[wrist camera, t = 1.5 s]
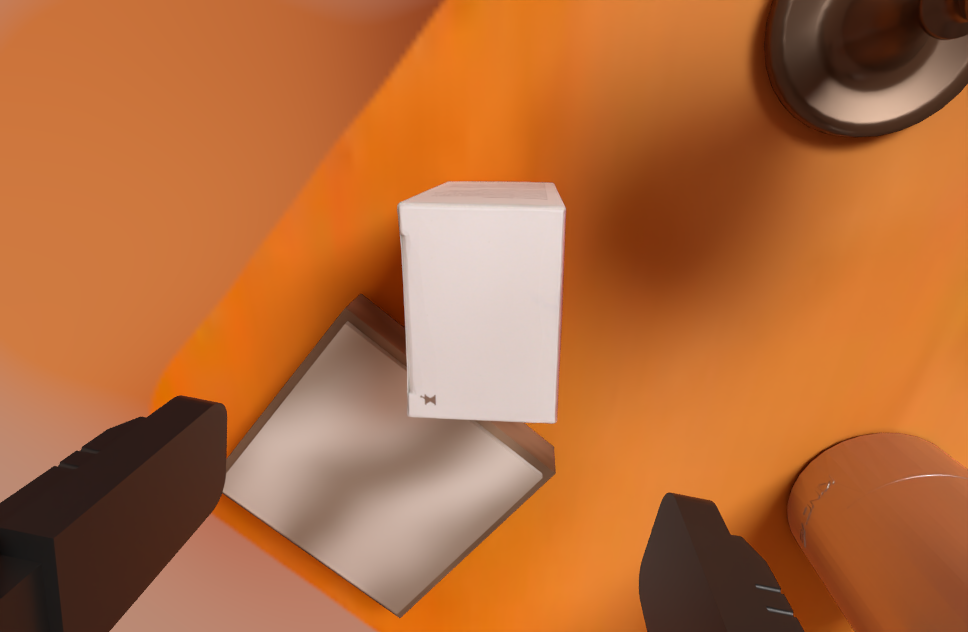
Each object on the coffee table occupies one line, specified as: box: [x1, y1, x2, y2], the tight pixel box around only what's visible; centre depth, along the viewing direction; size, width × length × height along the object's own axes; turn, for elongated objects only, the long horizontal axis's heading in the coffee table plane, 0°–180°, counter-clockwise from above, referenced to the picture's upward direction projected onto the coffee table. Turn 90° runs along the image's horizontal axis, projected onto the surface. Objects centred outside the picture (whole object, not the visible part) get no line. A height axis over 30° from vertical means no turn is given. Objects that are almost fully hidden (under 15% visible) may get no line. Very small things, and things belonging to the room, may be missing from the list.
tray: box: [222, 294, 556, 618], centre depth 31 cm, size 14×14×3 cm
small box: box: [397, 182, 566, 423], centre depth 24 cm, size 8×6×10 cm
